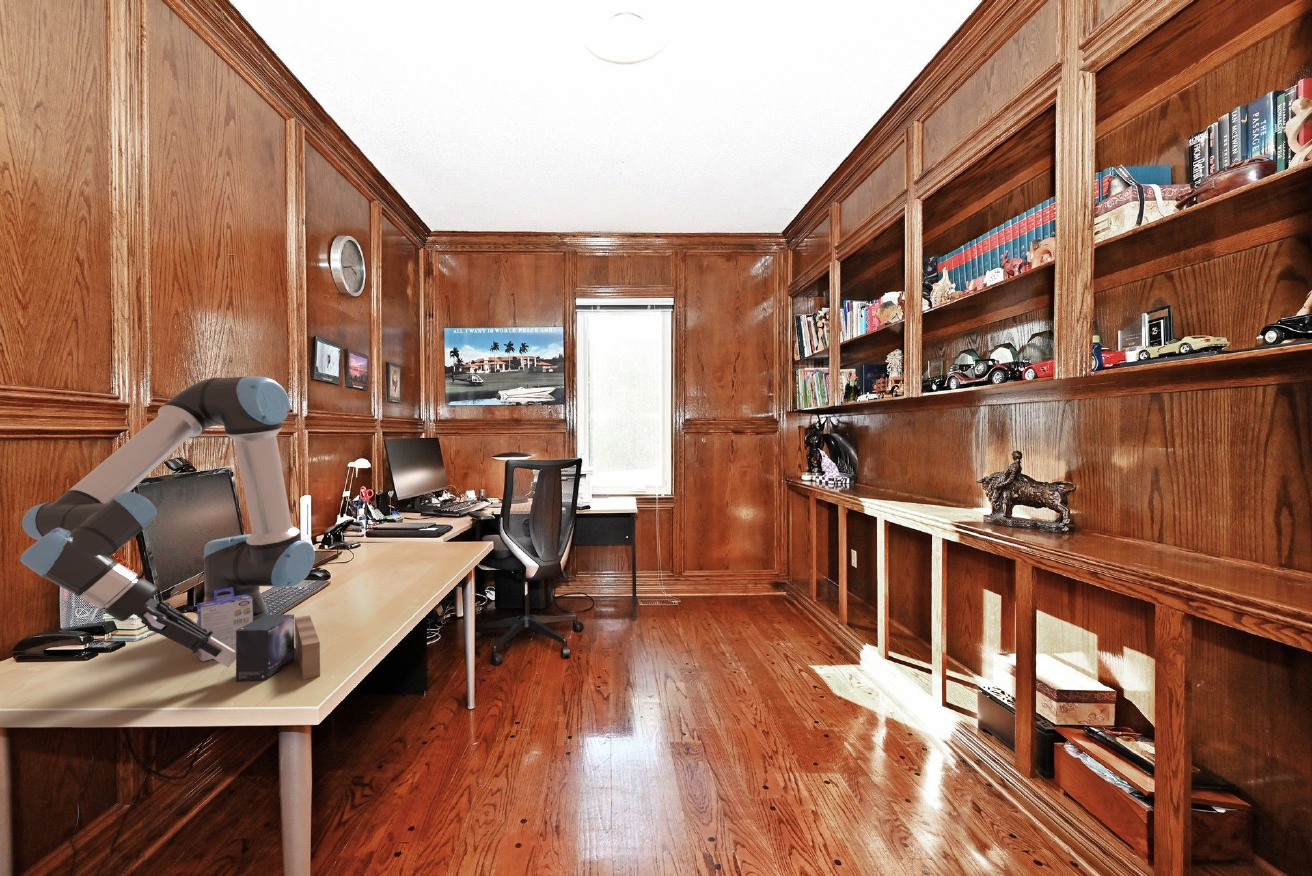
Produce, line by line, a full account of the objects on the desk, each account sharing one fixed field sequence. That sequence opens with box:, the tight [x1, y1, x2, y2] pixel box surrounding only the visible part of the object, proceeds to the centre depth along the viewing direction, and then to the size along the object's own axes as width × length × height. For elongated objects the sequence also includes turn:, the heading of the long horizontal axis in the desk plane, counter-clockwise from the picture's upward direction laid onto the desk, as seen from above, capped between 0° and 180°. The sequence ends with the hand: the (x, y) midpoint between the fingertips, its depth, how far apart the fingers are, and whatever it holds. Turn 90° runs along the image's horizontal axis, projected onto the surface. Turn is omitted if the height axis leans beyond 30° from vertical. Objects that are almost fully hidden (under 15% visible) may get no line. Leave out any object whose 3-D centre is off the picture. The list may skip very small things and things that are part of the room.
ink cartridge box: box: [196, 587, 253, 662], centre depth 131 cm, size 10×6×14 cm, turn 137°
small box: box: [235, 613, 295, 682], centre depth 121 cm, size 11×6×10 cm, turn 4°
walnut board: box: [294, 615, 321, 681], centre depth 126 cm, size 22×3×7 cm, turn 36°
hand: (233, 660), depth 118 cm, fingers closed
